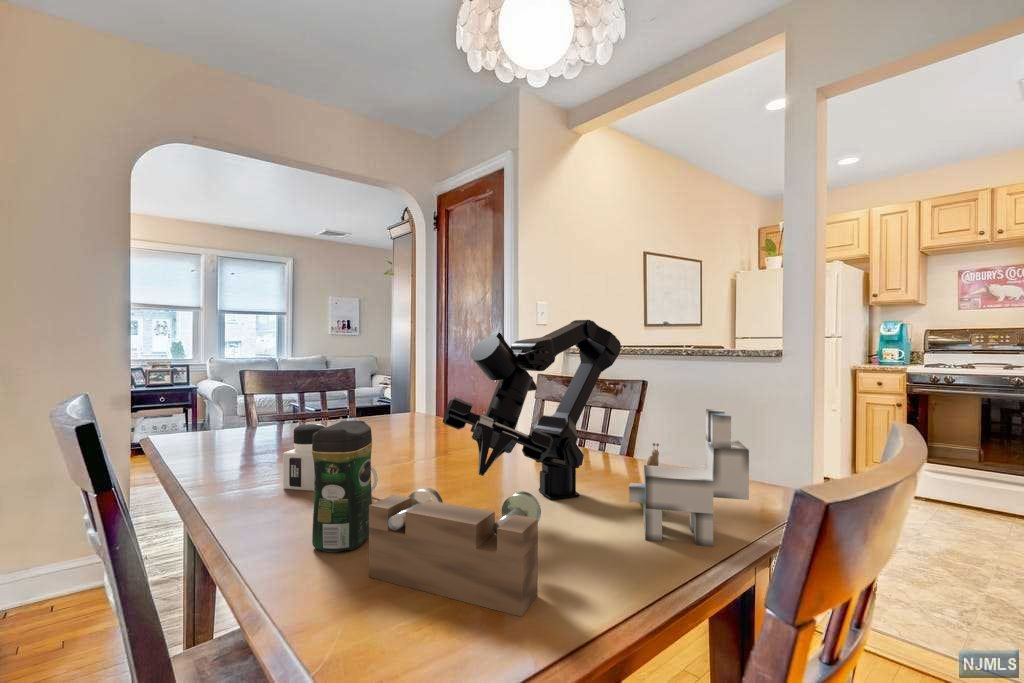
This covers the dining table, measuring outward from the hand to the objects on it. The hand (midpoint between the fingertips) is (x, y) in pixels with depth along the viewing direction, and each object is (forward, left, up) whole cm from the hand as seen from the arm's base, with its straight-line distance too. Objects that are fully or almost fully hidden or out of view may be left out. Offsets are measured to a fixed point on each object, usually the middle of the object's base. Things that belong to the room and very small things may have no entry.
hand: (481, 474), depth 79 cm
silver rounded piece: (+12, +9, -4) cm, 16 cm away
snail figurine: (-33, 0, -10) cm, 35 cm away
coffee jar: (+21, -5, -10) cm, 24 cm away
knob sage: (0, +16, -4) cm, 16 cm away
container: (+27, -39, -10) cm, 49 cm away
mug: (+19, -29, -10) cm, 36 cm away
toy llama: (-31, +11, -10) cm, 34 cm away
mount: (+8, +14, -10) cm, 19 cm away
